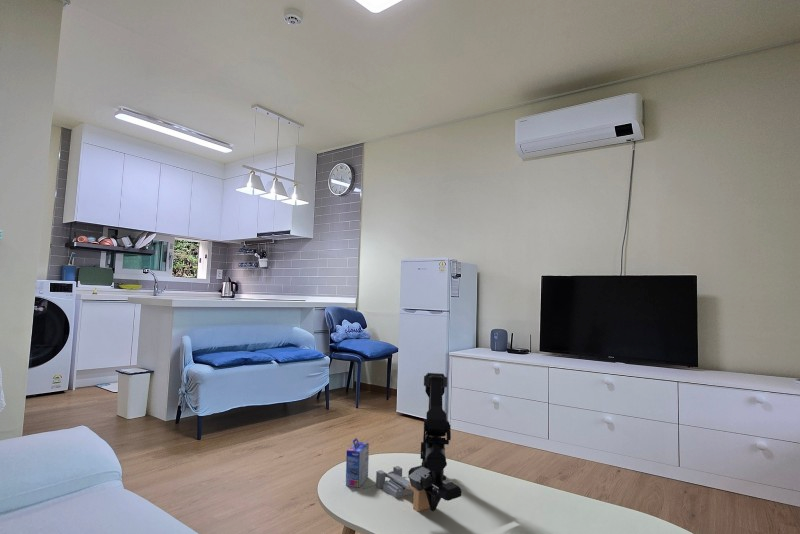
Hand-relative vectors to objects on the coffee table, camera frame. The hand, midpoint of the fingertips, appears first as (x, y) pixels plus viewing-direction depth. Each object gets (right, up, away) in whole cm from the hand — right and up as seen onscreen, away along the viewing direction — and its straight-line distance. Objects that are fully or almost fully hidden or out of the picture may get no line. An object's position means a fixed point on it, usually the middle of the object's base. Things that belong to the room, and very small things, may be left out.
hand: (432, 510), depth 132 cm
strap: (-10, +2, +14) cm, 17 cm away
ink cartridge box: (-25, -2, +22) cm, 34 cm away
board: (-9, -2, +11) cm, 14 cm away
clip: (-4, -1, +5) cm, 6 cm away
